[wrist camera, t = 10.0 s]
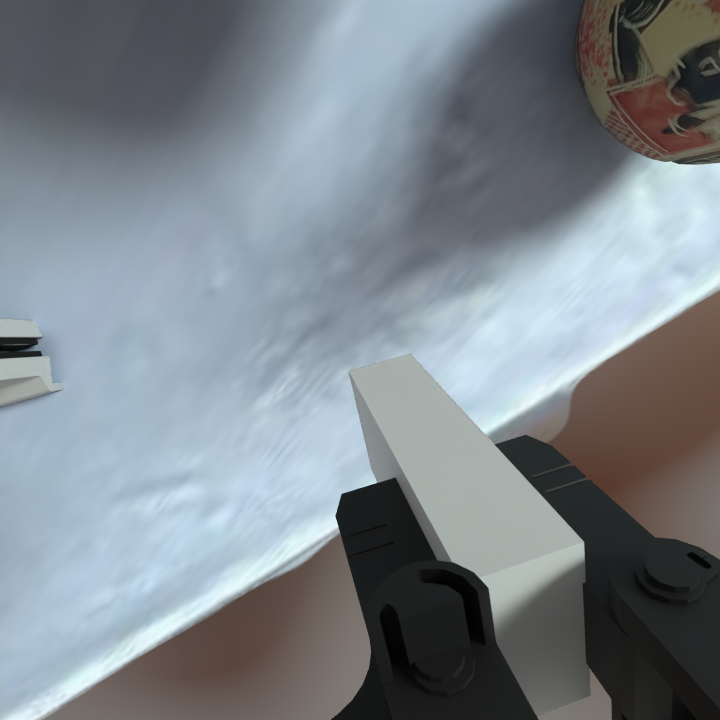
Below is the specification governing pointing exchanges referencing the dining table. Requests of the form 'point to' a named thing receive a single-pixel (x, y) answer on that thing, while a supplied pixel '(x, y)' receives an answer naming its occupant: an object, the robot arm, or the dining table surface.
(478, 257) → the dining table surface
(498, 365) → the dining table surface
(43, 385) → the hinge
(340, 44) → the dining table surface
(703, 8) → the ceramic jug
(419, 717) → the robot arm
